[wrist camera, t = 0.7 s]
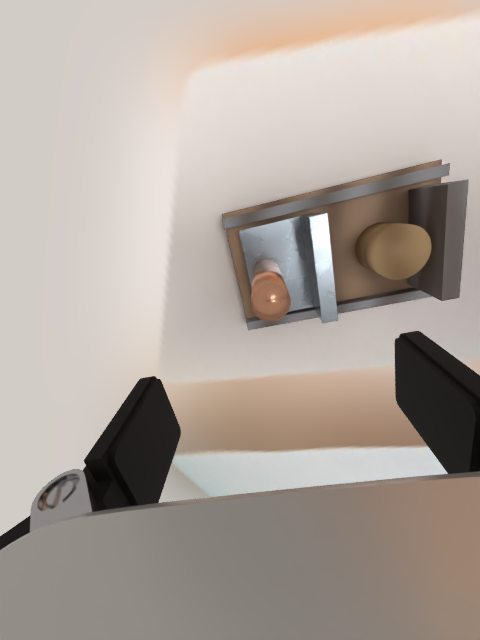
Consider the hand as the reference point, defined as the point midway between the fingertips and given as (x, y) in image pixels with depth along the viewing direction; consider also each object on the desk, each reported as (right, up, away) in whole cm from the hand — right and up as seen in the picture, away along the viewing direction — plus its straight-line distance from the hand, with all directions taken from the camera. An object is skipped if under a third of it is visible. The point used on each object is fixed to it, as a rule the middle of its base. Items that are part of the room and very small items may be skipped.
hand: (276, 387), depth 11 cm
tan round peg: (+14, +11, +18) cm, 25 cm away
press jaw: (+4, +9, +20) cm, 22 cm away
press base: (+10, +11, +20) cm, 25 cm away
